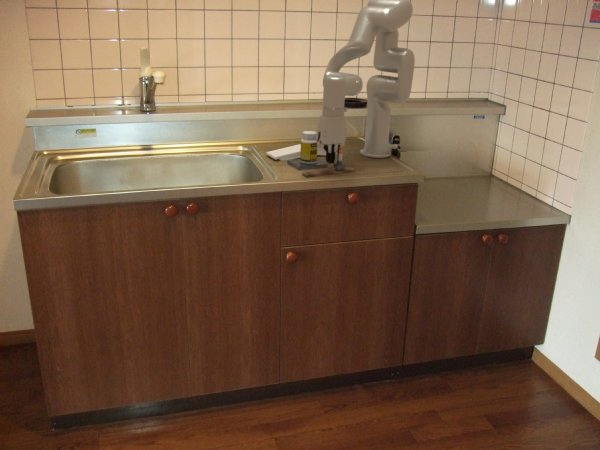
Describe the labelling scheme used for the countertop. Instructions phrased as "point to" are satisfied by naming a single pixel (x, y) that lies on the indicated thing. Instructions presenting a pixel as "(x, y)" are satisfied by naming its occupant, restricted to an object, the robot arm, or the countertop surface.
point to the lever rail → (327, 172)
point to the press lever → (339, 160)
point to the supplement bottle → (308, 148)
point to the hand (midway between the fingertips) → (330, 162)
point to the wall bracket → (291, 153)
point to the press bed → (303, 166)
